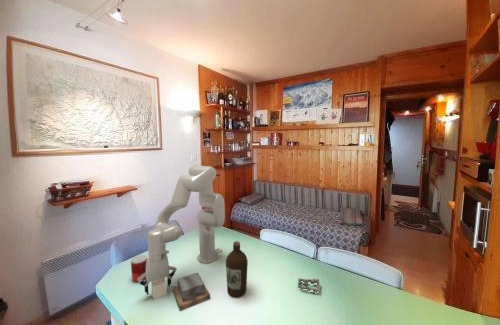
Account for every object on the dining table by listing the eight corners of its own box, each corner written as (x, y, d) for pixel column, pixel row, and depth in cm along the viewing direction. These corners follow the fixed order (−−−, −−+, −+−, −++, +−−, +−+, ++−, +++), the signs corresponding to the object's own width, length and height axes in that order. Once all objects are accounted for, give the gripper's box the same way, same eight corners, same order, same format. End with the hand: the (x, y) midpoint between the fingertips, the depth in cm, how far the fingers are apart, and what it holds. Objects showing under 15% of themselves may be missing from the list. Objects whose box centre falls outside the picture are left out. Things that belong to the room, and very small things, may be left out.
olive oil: (231, 282, 111) (230, 236, 109) (250, 286, 108) (250, 239, 106) (222, 296, 101) (221, 246, 99) (243, 301, 98) (243, 249, 96)
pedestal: (200, 281, 112) (200, 269, 111) (210, 298, 100) (209, 284, 99) (172, 291, 104) (172, 278, 104) (179, 310, 92) (179, 295, 92)
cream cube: (164, 287, 107) (164, 276, 106) (166, 295, 102) (166, 283, 101) (151, 292, 104) (151, 280, 103) (153, 300, 99) (152, 288, 98)
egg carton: (319, 286, 108) (320, 279, 108) (319, 296, 101) (319, 288, 101) (298, 281, 112) (298, 274, 112) (296, 291, 105) (296, 283, 105)
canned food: (141, 283, 110) (140, 263, 109) (128, 281, 112) (127, 261, 111) (151, 274, 118) (150, 255, 116) (138, 272, 119) (137, 254, 118)
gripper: (174, 247, 108) (175, 279, 110) (136, 256, 100) (137, 291, 101) (177, 254, 102) (178, 287, 104) (137, 264, 93) (138, 301, 95)
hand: (158, 289), depth 102 cm, fingers open, 9 cm apart
